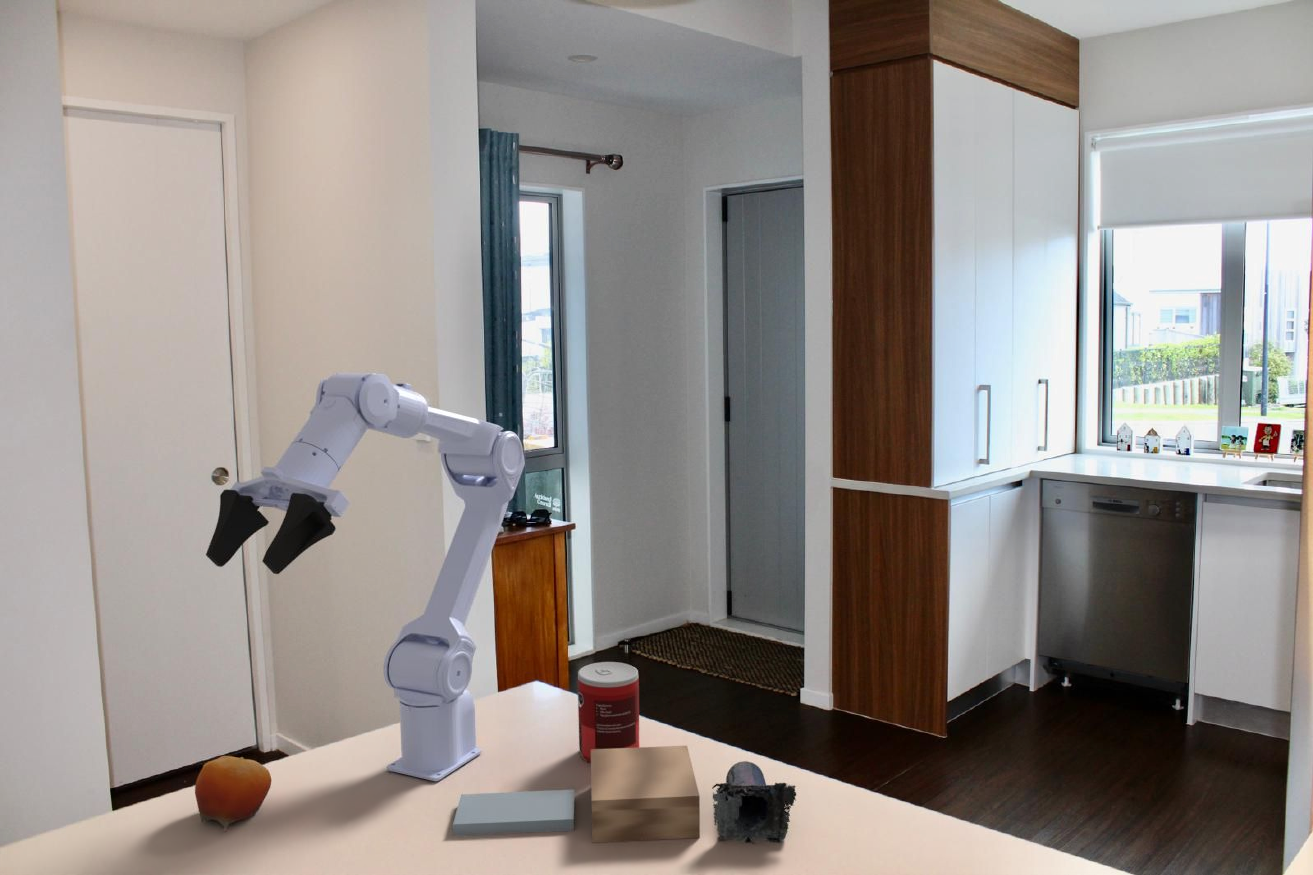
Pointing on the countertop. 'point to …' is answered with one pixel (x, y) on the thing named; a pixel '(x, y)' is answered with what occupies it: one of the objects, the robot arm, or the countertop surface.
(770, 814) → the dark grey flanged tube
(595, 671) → the canned food
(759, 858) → the countertop surface
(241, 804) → the fruit
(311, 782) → the countertop surface
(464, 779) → the countertop surface
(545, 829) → the tile
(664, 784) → the brown wooden block
